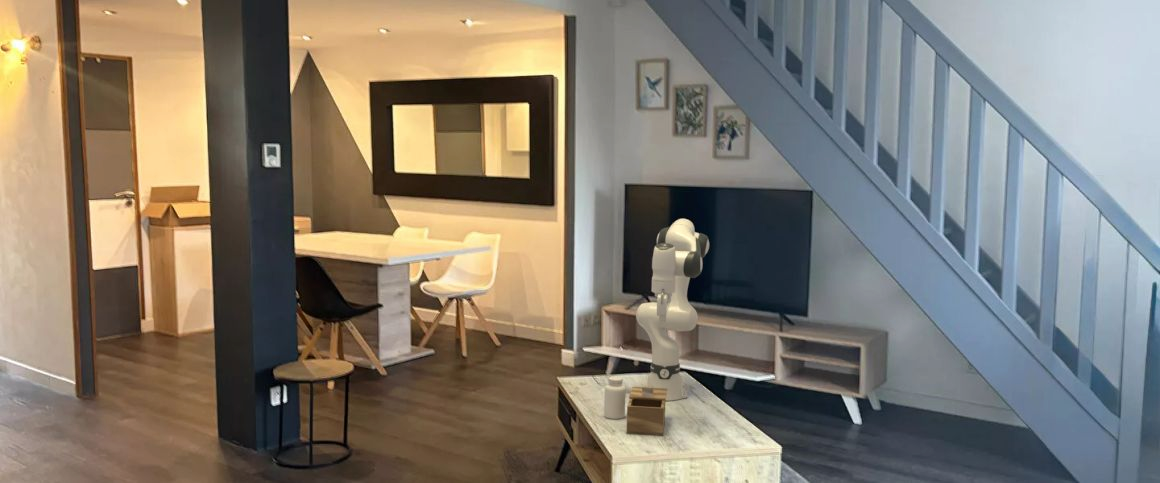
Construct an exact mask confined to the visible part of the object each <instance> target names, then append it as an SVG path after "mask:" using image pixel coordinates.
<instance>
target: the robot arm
mask: <svg viewBox="0 0 1160 483" xmlns="http://www.w3.org/2000/svg"><path fill="white" fill-rule="evenodd" d="M709 249H710V241H709V237H708V235H706V234H704V233H701V232H700V233H699V232H696V231H695V225H694V223H693V222H692V221H691V220H689V219H686V218H678V219H677V220H675V221H674V222H672V224H671V225H670V226H667V227H663V228H662V229H661V230H659V232H658V234H657V237H656V245H655V246H654V248H653V254H652V257H651V270H652V277H651V292H652V293H654V297H656V298H657V299H656V301H655V302H654V301H653V302H644V303H641V304H640V305H639V306H638V308H637V310H636V312H635V318H636V321H637V323H638V325H639V326H640V327H641V328H643V330H644V331H645V332H646V333H647V335H648V337H649V339H650V343H651V354H652V355H651V362H650V373H649V374H648V375H647V376H646V386H654V388H664V389H667V395H666V401H669V402H671V401H677V400H681V399H687V398H688V393H687V392H686V390H685V389H684V378H683V376H682V375H681V374H680V372H681V371H680V370H681V365H680V364H681V363H680V345H679V343H678V342H677V341H676V340H675V339H673V338H671V337H670V335H669V334H668V332H667V331H673V332H690V331H692V330H694V329H695V328H696V327H697V324H698V320H699V318H698V317H699V316H698V312H697V310H696V309H695V308H694V307H693V306H692V305H691V304H690V302H689V301H688V300H689V299H688V288H689V284H690V280H691V278H692V279H695V278H697V277H699V275H701V273H702V270H703V264H704V263H703V258H705V257H706V254H708V252H709ZM666 401H665V402H666Z"/></svg>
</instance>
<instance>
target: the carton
mask: <svg viewBox="0 0 1160 483" xmlns="http://www.w3.org/2000/svg"><path fill="white" fill-rule="evenodd" d="M626 411H627V412H626V434H629V435H644V436H645V435H646V436H660V437H661V436H662V437H663V436H664V431H665V425H666V401H661V400H643V399H629V400H628V404H627V407H626Z"/></svg>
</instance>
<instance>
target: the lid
mask: <svg viewBox="0 0 1160 483" xmlns="http://www.w3.org/2000/svg"><path fill="white" fill-rule="evenodd" d="M666 395H667V389H664V388H654V386H647V385H642V386H632V388H631V390H630V393H629V397H628V399H629V400H630V399H643V400H661V401H665V402H666Z"/></svg>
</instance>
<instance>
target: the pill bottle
mask: <svg viewBox="0 0 1160 483" xmlns="http://www.w3.org/2000/svg"><path fill="white" fill-rule="evenodd" d="M603 403H604V404H603V405H604V406H603V410H604V411H603V415H604V417H605V418H606V419H612V420H620V419H623V418H624V417H625V413H626V386H625V385H624V384H623V377H621V376H610V377H608V384H606V385H605V386H604V402H603Z"/></svg>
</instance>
